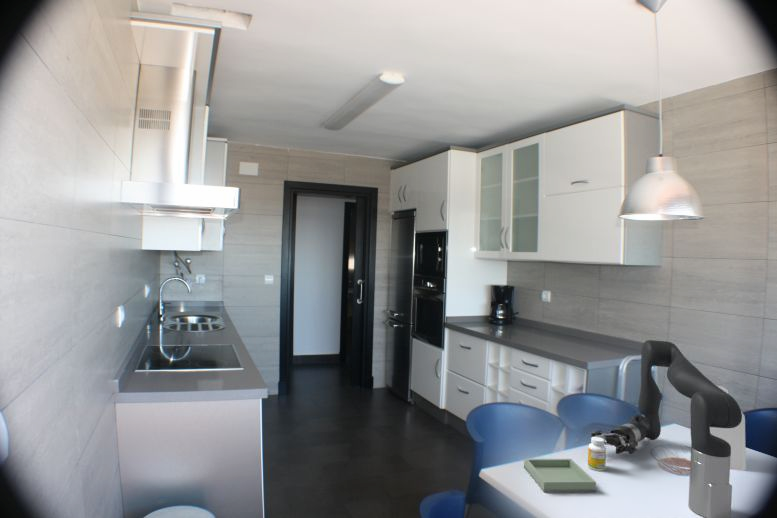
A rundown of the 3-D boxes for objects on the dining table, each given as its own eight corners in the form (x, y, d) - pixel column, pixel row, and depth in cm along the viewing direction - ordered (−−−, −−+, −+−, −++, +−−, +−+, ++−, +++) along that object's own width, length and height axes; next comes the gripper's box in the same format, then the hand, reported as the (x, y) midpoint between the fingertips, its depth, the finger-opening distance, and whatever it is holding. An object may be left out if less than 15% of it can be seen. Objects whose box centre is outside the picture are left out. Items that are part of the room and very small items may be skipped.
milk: (745, 470, 161) (749, 394, 160) (706, 465, 164) (710, 390, 163) (730, 456, 172) (733, 385, 172) (694, 451, 175) (697, 381, 175)
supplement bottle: (590, 462, 163) (591, 434, 163) (607, 467, 159) (608, 438, 159) (585, 467, 159) (586, 438, 159) (602, 472, 155) (603, 443, 155)
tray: (595, 492, 142) (595, 482, 142) (543, 492, 141) (544, 482, 141) (570, 467, 158) (570, 458, 158) (523, 467, 157) (524, 458, 157)
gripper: (606, 420, 178) (584, 429, 167) (646, 432, 167) (626, 442, 157) (605, 440, 178) (583, 450, 168) (645, 453, 167) (625, 465, 157)
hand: (604, 446), depth 162 cm, fingers open, 8 cm apart
